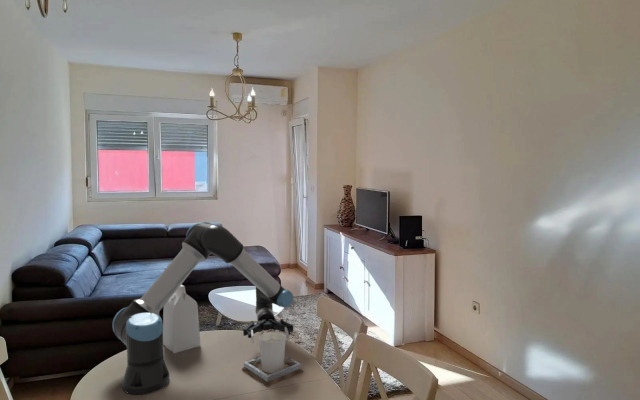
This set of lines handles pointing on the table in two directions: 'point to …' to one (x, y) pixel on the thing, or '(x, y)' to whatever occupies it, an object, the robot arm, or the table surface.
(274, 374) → the grey square frame
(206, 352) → the table surface
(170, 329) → the milk
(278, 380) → the walnut plate
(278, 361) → the candle holder
